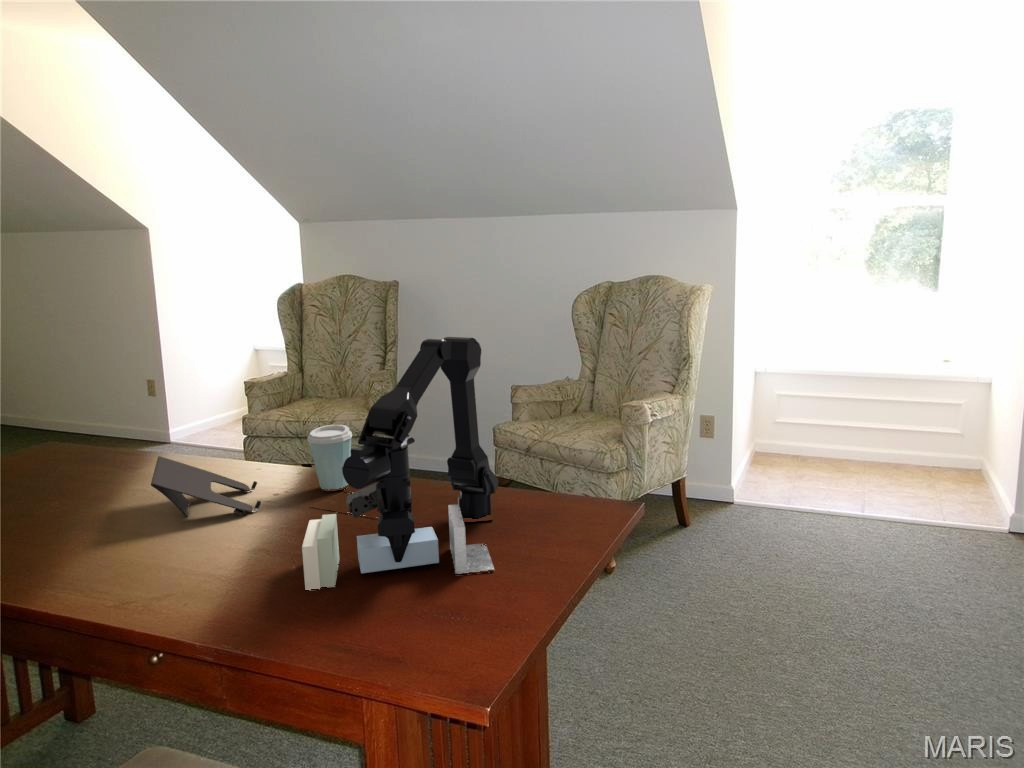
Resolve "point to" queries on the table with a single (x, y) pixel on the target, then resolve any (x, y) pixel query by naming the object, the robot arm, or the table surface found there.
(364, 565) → the light blue rectangular block
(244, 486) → the portable electronic device stand
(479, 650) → the table surface
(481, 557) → the l-shaped bookend
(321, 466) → the disposable coffee cup
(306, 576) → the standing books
